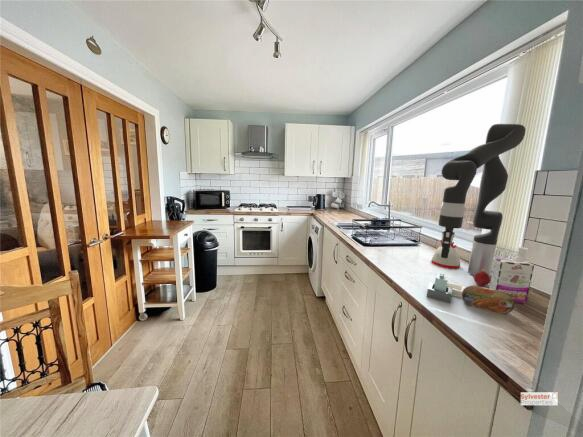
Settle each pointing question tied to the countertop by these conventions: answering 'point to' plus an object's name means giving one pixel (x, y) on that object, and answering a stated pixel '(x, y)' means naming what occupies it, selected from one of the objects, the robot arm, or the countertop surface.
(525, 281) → the candy bar box
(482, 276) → the onion
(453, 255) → the white dome
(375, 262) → the countertop surface
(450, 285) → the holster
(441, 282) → the plug
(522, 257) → the bath foam
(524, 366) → the countertop surface
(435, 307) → the countertop surface
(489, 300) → the tin
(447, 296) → the block
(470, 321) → the countertop surface
